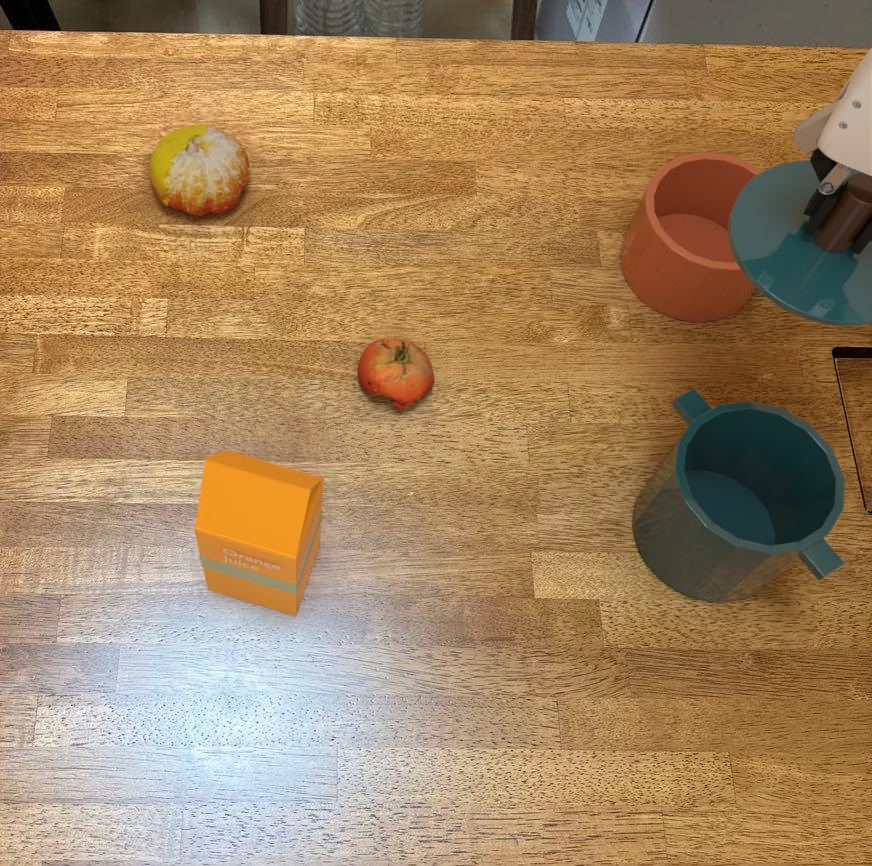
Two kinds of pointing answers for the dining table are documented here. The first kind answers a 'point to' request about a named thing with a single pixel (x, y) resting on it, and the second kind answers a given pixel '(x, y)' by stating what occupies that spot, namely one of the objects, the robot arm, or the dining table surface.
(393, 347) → the tomato
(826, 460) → the pot
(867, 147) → the robot arm
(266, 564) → the orange juice
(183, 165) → the fruit
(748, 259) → the lid
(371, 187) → the dining table surface
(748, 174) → the canister
